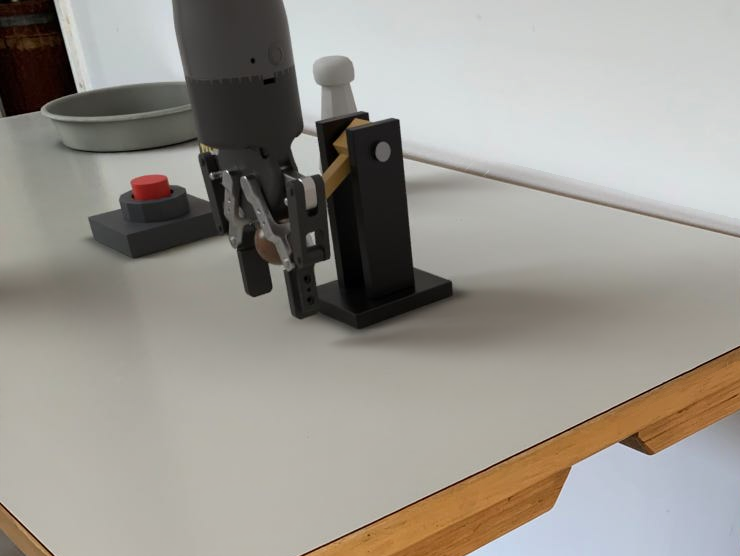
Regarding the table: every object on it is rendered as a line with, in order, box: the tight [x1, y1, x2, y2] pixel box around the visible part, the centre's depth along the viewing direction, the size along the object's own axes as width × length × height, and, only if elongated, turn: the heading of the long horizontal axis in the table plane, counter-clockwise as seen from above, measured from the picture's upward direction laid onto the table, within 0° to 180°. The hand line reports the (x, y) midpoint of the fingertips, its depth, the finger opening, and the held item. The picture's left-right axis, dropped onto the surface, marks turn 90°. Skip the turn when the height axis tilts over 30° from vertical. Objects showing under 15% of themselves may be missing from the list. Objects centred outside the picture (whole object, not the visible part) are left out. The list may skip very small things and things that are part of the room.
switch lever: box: [254, 118, 373, 266], centre depth 75 cm, size 13×3×3 cm
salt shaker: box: [312, 54, 358, 176], centre depth 106 cm, size 6×6×13 cm
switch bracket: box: [314, 110, 454, 330], centre depth 79 cm, size 10×8×14 cm
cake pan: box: [40, 81, 198, 152], centre depth 136 cm, size 25×25×4 cm
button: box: [130, 174, 171, 200], centre depth 98 cm, size 4×4×2 cm
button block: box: [87, 184, 224, 259], centre depth 99 cm, size 11×9×4 cm
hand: (282, 303), depth 77 cm, fingers open, 6 cm apart
